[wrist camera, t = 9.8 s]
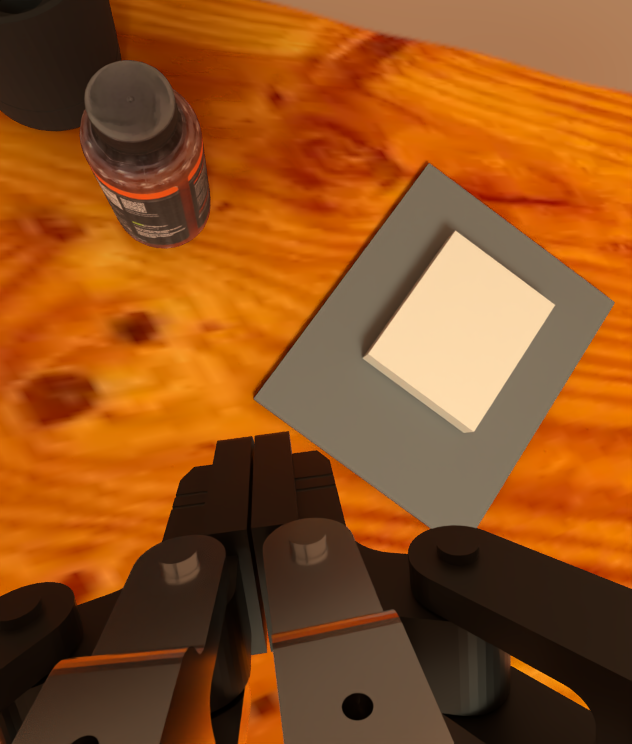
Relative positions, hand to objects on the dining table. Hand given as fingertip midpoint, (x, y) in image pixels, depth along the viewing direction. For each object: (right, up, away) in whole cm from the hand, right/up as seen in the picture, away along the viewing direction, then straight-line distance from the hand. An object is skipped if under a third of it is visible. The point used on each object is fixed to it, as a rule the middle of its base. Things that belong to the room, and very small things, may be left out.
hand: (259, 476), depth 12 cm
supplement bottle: (-9, +13, +25) cm, 29 cm away
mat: (+9, +4, +26) cm, 28 cm away
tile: (+7, +1, +23) cm, 24 cm away
